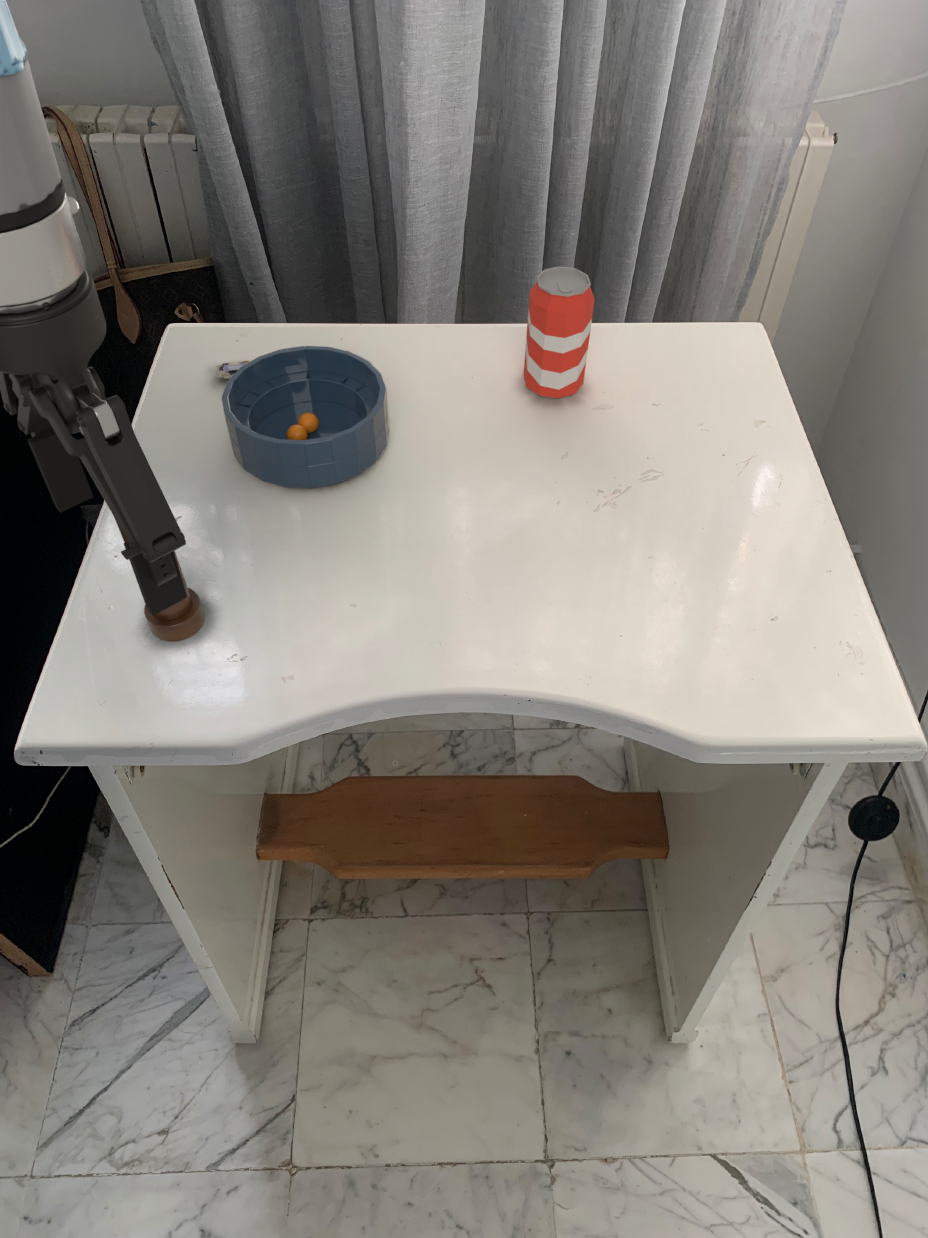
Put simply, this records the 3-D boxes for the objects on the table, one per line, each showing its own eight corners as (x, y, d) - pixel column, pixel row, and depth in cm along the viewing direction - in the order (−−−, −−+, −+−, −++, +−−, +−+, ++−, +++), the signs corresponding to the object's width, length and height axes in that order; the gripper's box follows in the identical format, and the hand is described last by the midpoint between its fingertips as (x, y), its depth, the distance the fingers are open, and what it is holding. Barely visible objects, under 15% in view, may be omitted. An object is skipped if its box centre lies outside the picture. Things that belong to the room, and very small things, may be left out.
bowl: (218, 491, 84) (205, 440, 79) (251, 393, 93) (241, 343, 89) (380, 497, 83) (375, 447, 79) (395, 398, 93) (393, 348, 88)
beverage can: (528, 404, 93) (537, 299, 83) (520, 369, 97) (527, 264, 87) (586, 402, 93) (601, 296, 84) (575, 366, 97) (588, 262, 88)
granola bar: (279, 362, 97) (278, 354, 96) (281, 375, 95) (279, 366, 94) (216, 369, 96) (214, 361, 95) (217, 382, 94) (215, 373, 94)
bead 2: (309, 404, 87) (296, 415, 86) (324, 418, 87) (311, 429, 86) (304, 416, 89) (292, 427, 88) (320, 429, 89) (307, 440, 88)
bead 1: (296, 424, 85) (313, 436, 86) (293, 417, 86) (310, 429, 87) (283, 440, 85) (300, 452, 86) (281, 433, 87) (298, 445, 88)
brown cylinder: (139, 632, 73) (80, 494, 61) (170, 594, 75) (119, 456, 64) (185, 648, 72) (134, 512, 60) (215, 610, 74) (171, 472, 63)
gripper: (200, 354, 45) (259, 623, 61) (-13, 180, 56) (84, 445, 73) (60, 413, 42) (162, 681, 58) (-136, 214, 53) (-6, 485, 69)
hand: (119, 550), depth 65 cm, fingers open, 13 cm apart
